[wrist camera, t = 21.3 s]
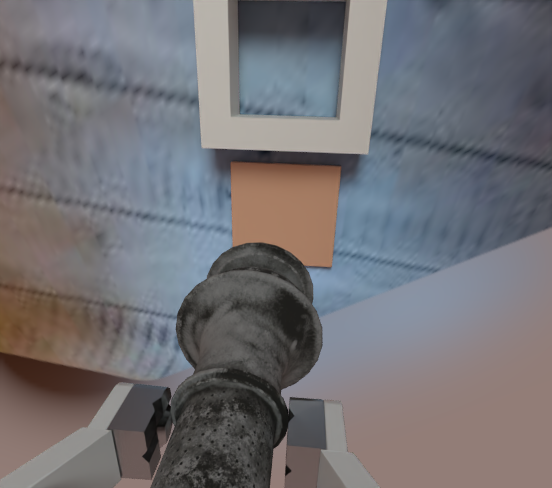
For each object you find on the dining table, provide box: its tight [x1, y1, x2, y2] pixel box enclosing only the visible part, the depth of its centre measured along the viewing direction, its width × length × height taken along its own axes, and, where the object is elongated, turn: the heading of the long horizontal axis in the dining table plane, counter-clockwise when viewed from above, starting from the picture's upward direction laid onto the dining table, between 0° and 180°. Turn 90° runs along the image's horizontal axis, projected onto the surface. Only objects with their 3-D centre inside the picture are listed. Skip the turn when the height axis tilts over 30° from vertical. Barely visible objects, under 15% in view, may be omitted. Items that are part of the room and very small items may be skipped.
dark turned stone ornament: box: [151, 242, 322, 488], centre depth 12 cm, size 6×6×12 cm
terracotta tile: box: [231, 161, 341, 267], centre depth 31 cm, size 9×9×1 cm
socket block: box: [193, 0, 387, 154], centre depth 25 cm, size 12×12×4 cm
